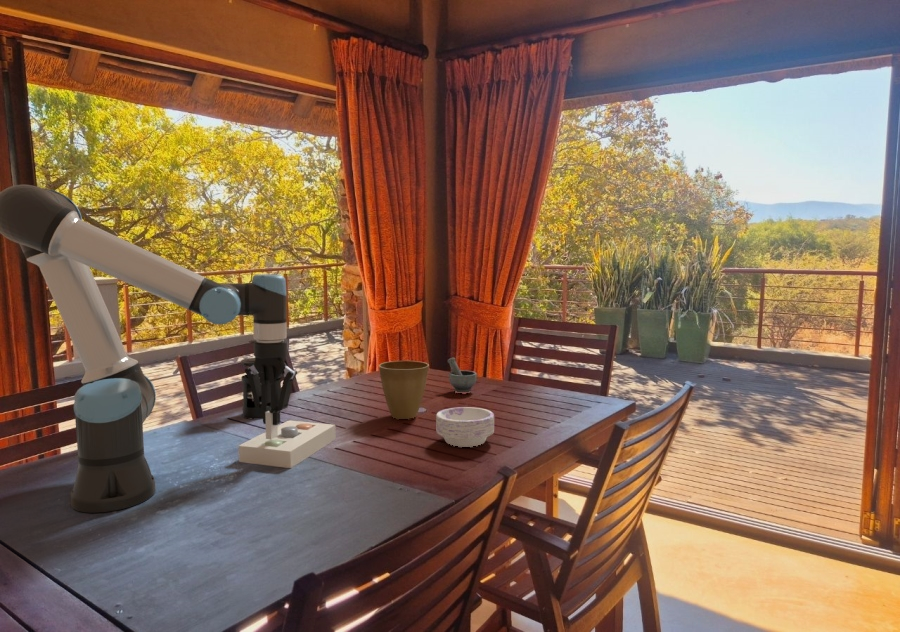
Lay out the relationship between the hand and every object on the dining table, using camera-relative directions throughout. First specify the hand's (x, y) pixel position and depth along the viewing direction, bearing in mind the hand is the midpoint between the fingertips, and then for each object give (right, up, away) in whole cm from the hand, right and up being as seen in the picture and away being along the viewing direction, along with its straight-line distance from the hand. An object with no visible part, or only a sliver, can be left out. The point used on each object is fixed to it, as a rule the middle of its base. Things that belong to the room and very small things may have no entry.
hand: (271, 437), depth 144 cm
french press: (-15, -1, +40) cm, 43 cm away
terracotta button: (+4, -4, +14) cm, 15 cm away
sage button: (0, -5, +1) cm, 5 cm away
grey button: (+2, -3, +7) cm, 8 cm away
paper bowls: (+47, -4, +14) cm, 49 cm away
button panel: (+2, -5, +7) cm, 9 cm away
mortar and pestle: (+47, +2, +69) cm, 83 cm away
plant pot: (+29, -1, +38) cm, 48 cm away
